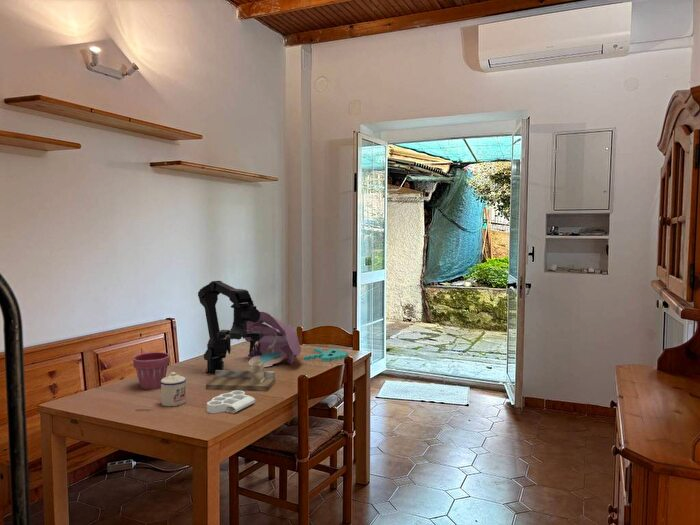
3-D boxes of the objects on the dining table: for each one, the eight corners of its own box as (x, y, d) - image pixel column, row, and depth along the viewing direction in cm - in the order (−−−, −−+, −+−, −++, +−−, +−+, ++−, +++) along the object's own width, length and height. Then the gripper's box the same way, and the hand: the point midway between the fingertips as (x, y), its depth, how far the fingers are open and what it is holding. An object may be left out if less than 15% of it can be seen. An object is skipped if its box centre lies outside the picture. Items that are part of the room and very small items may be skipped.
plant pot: (151, 393, 198) (150, 361, 197) (126, 388, 204) (125, 358, 203) (177, 383, 211) (177, 354, 210) (153, 379, 217) (152, 350, 216)
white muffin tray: (229, 418, 173) (197, 411, 179) (260, 402, 189) (229, 396, 195) (229, 408, 172) (197, 402, 179) (260, 393, 189) (229, 388, 195)
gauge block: (250, 381, 207) (250, 365, 207) (254, 377, 213) (254, 361, 213) (260, 381, 207) (260, 365, 206) (263, 377, 213) (263, 361, 212)
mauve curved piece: (231, 374, 243) (219, 320, 237) (252, 354, 265) (242, 304, 259) (296, 373, 232) (286, 317, 226) (313, 352, 254) (304, 300, 248)
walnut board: (205, 389, 203) (205, 378, 203) (216, 380, 216) (216, 370, 216) (268, 391, 201) (268, 380, 201) (275, 381, 214) (275, 371, 214)
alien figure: (304, 360, 252) (342, 363, 248) (304, 356, 252) (342, 358, 248) (314, 351, 271) (350, 353, 267) (314, 347, 271) (350, 349, 267)
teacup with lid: (176, 408, 181) (176, 376, 180) (155, 405, 184) (155, 374, 183) (195, 397, 193) (195, 368, 192) (175, 395, 195) (174, 366, 194)
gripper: (212, 321, 207) (212, 358, 208) (256, 323, 206) (256, 360, 207) (221, 316, 218) (221, 351, 219) (263, 318, 217) (262, 353, 218)
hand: (239, 354), depth 216 cm, fingers open, 9 cm apart
